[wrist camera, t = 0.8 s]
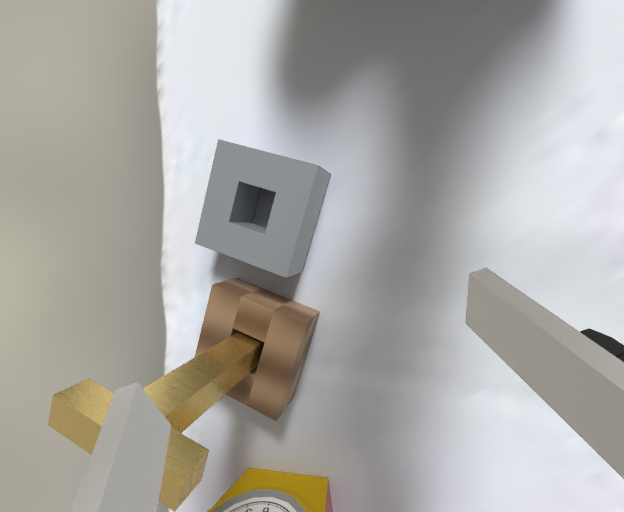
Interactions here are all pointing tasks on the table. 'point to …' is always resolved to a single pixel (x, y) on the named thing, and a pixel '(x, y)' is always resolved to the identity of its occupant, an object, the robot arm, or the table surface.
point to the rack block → (242, 200)
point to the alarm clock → (276, 493)
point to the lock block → (267, 328)
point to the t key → (165, 408)
